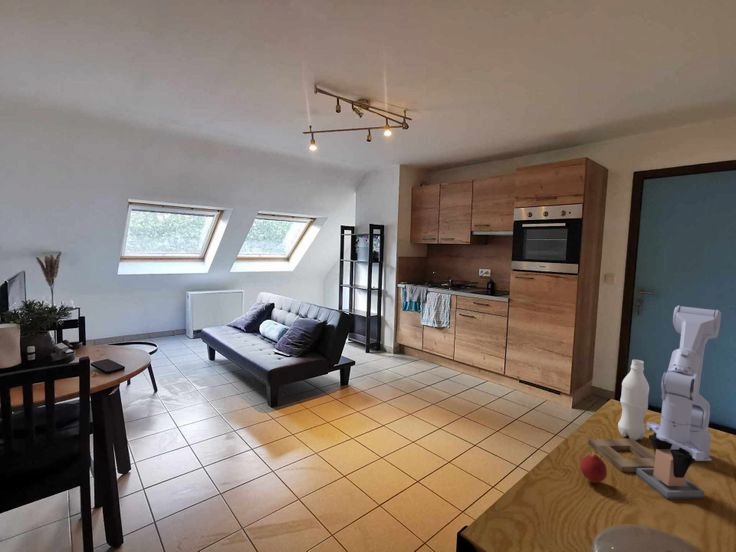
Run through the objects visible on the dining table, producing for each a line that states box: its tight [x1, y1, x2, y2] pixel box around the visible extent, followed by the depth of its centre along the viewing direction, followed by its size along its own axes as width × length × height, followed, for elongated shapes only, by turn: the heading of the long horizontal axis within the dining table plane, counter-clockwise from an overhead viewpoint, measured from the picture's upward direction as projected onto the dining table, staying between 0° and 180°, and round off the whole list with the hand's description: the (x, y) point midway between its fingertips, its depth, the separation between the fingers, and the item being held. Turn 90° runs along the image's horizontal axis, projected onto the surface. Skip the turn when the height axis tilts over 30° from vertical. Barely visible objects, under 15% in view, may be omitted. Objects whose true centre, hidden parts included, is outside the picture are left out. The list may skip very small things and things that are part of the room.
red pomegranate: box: [580, 452, 608, 484], centre depth 96 cm, size 6×6×8 cm
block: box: [653, 449, 688, 486], centre depth 95 cm, size 4×4×7 cm
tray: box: [635, 468, 706, 500], centre depth 96 cm, size 10×10×2 cm
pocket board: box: [587, 438, 655, 473], centre depth 108 cm, size 14×14×2 cm
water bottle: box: [617, 359, 650, 441], centre depth 119 cm, size 7×7×25 cm
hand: (670, 470), depth 95 cm, fingers closed on block, 4 cm apart
